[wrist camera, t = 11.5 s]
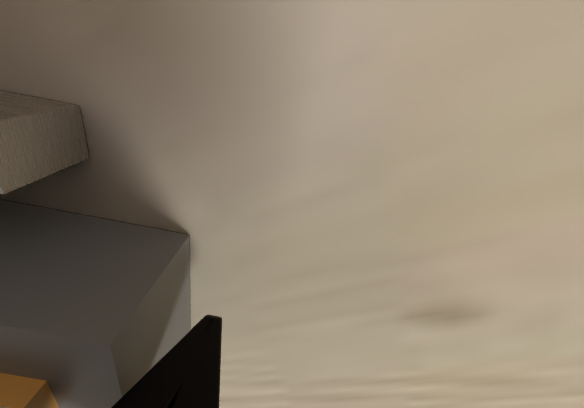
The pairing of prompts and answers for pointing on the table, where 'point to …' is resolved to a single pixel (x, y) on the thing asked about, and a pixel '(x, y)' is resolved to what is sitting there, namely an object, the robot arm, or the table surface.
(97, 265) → the block
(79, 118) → the rail
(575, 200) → the table surface
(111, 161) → the table surface
